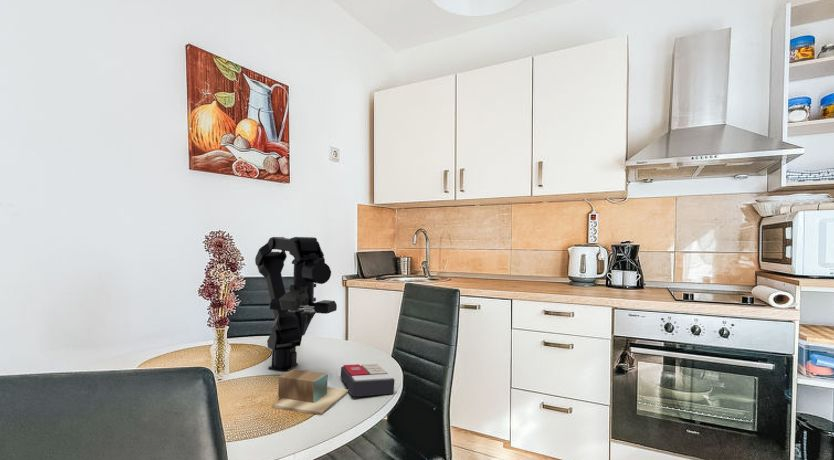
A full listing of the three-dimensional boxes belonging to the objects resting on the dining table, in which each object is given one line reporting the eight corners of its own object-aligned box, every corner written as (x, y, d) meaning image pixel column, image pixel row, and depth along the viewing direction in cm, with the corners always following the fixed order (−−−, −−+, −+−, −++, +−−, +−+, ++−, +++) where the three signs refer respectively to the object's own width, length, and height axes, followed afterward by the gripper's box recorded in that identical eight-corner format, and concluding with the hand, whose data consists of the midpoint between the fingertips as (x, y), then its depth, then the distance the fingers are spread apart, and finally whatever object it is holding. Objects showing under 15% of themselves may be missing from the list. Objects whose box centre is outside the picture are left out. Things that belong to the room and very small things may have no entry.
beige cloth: (272, 407, 90) (272, 404, 90) (305, 385, 104) (305, 383, 104) (321, 415, 86) (321, 412, 87) (349, 392, 100) (349, 389, 100)
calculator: (378, 362, 113) (395, 376, 100) (377, 377, 113) (394, 393, 99) (341, 363, 109) (353, 378, 95) (339, 379, 109) (352, 396, 95)
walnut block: (278, 376, 94) (314, 381, 92) (293, 369, 100) (327, 373, 97) (278, 397, 94) (314, 403, 91) (292, 388, 100) (326, 393, 97)
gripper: (257, 281, 105) (255, 339, 105) (318, 285, 100) (316, 345, 100) (282, 278, 116) (280, 330, 115) (338, 281, 111) (336, 335, 110)
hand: (302, 335), depth 110 cm, fingers closed
